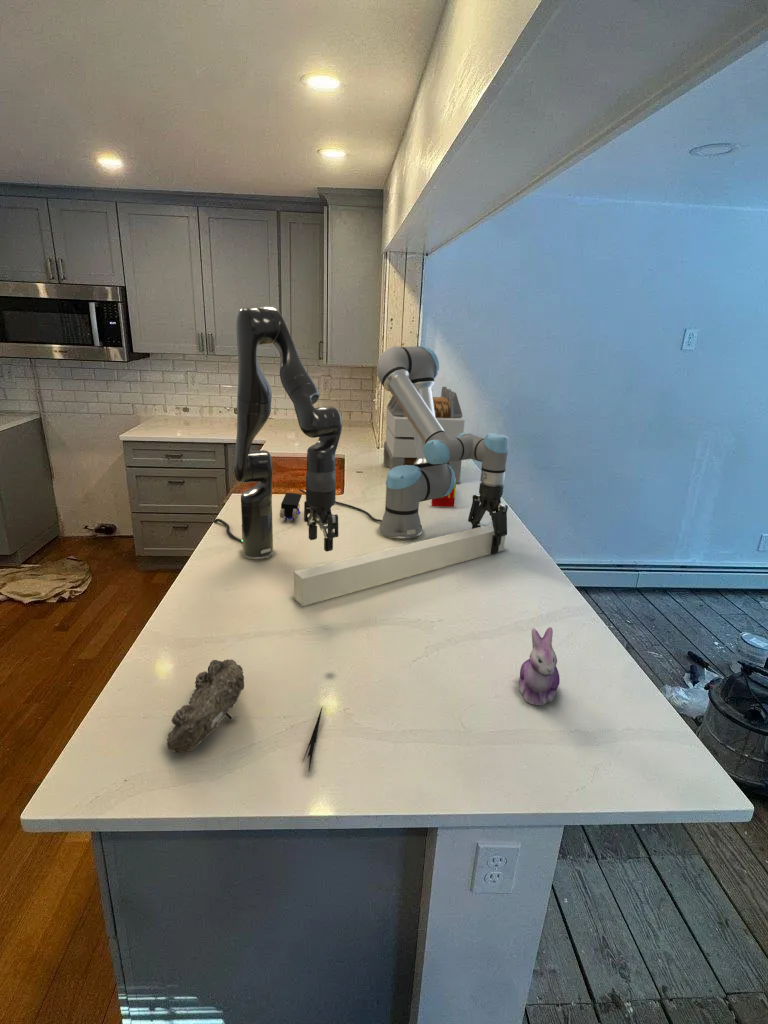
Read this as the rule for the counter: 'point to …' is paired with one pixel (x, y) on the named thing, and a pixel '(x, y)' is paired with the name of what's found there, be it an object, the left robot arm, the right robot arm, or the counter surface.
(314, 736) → the feather
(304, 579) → the beam
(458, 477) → the grey wooden crate
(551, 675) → the figurine
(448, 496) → the toy
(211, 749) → the counter surface
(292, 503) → the figurine character
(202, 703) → the fossil
